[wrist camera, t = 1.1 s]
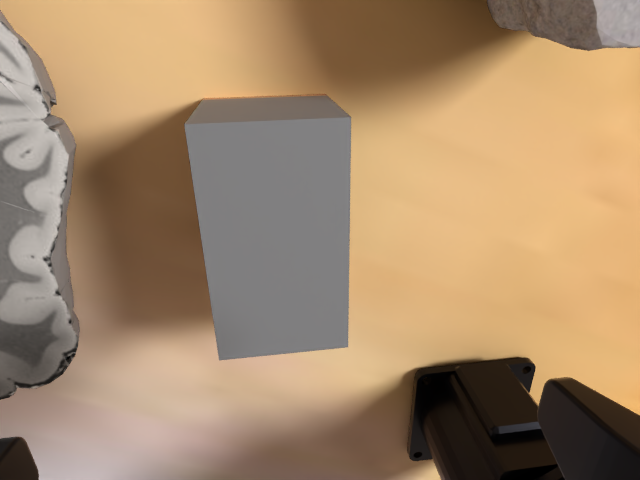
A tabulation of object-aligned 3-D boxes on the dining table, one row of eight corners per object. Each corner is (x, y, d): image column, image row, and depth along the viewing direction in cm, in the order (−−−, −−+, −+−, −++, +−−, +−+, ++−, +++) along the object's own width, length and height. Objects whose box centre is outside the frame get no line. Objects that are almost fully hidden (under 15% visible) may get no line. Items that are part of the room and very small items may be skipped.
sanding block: (326, 276, 20) (348, 347, 16) (227, 284, 20) (219, 360, 15) (325, 93, 17) (351, 117, 12) (203, 97, 16) (184, 124, 12)
